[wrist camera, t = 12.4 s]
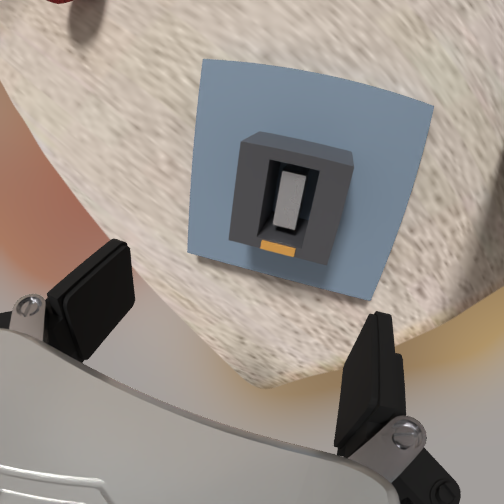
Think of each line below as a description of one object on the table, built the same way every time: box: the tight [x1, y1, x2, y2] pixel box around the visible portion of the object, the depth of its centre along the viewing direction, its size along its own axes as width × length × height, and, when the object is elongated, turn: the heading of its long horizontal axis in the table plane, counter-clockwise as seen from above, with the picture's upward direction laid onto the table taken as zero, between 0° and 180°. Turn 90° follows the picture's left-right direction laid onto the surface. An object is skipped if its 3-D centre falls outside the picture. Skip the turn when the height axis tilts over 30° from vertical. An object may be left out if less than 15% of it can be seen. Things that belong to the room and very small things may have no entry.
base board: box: [187, 59, 434, 301], centre depth 26 cm, size 18×18×2 cm
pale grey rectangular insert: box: [273, 163, 310, 230], centre depth 23 cm, size 2×4×4 cm, turn 172°
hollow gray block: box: [228, 131, 354, 266], centre depth 23 cm, size 7×7×5 cm
